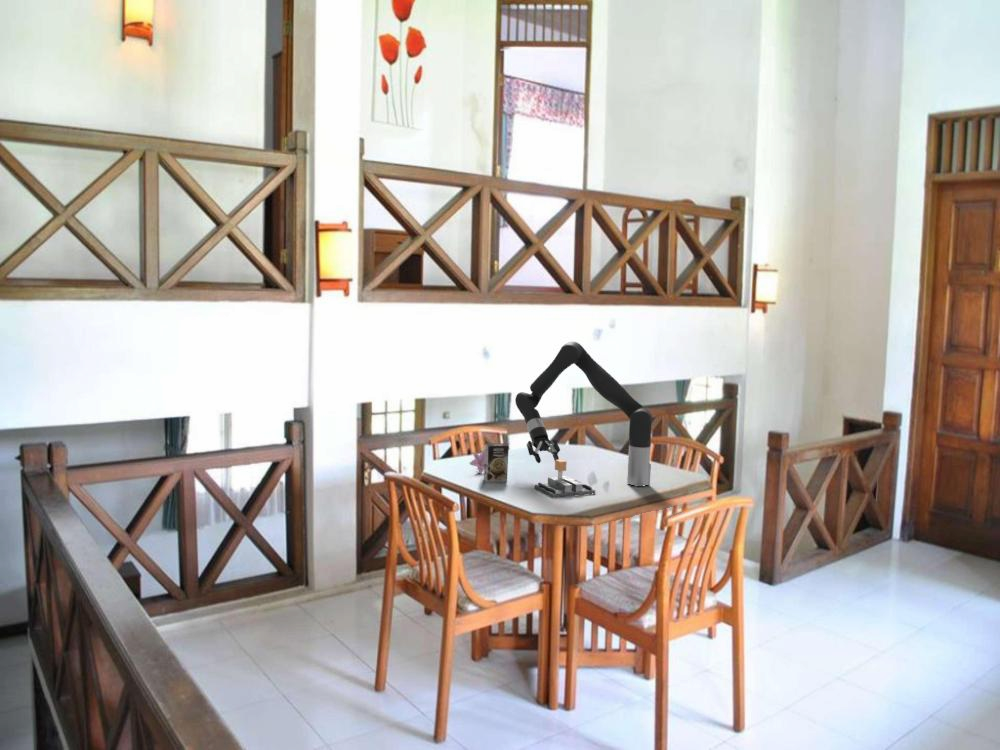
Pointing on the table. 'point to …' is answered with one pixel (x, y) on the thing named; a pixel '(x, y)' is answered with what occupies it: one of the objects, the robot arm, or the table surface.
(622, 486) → the table surface
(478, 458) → the lily
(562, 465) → the lever
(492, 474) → the coffee box
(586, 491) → the breaker panel
